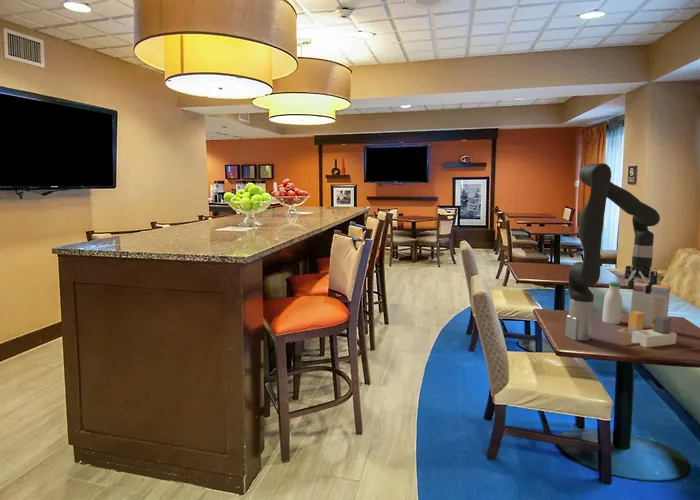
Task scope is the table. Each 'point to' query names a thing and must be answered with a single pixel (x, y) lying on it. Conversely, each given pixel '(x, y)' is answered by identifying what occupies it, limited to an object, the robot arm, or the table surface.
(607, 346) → the table surface
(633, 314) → the plug
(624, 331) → the tray
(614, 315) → the milk bottle
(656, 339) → the strip
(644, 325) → the cracker box
